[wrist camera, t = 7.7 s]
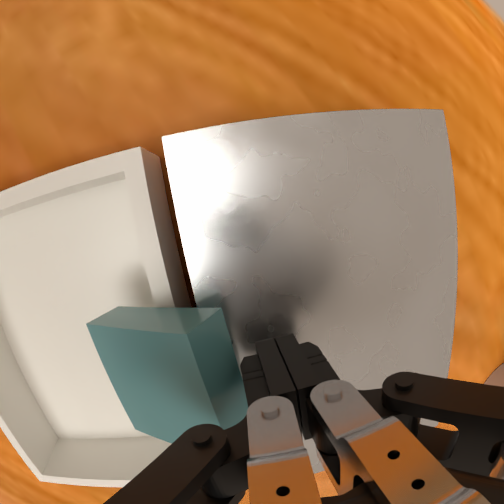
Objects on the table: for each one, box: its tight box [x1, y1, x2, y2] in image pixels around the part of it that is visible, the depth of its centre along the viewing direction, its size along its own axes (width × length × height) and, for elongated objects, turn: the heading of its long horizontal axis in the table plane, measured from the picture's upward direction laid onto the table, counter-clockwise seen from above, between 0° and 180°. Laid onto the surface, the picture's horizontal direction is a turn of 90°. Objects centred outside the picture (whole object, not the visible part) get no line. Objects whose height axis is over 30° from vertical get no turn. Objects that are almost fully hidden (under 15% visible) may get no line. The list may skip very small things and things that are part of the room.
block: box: [86, 306, 248, 444], centre depth 12 cm, size 6×6×2 cm
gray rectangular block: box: [162, 109, 458, 473], centre depth 16 cm, size 18×12×6 cm, turn 10°
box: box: [0, 147, 192, 487], centre depth 15 cm, size 18×14×5 cm
